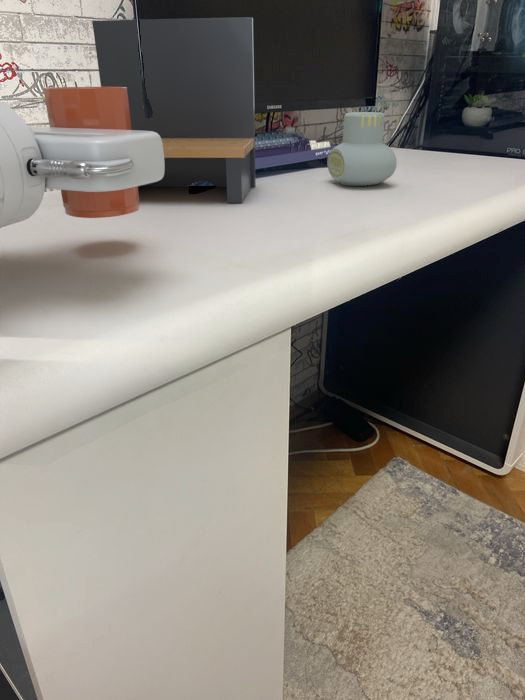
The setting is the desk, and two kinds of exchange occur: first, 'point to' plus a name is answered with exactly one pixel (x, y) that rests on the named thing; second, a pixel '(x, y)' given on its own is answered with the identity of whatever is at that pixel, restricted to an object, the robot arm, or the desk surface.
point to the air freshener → (362, 151)
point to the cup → (92, 113)
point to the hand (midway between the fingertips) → (99, 143)
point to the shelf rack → (189, 94)
